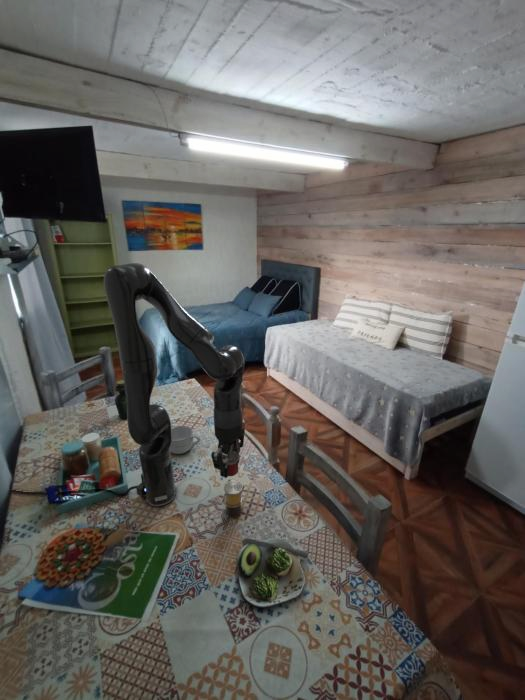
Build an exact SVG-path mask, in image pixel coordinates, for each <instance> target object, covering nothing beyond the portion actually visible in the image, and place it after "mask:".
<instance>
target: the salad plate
mask: <svg viewBox="0 0 525 700" xmlns="http://www.w3.org/2000/svg"><path fill="white" fill-rule="evenodd" d="M241 543H242V548H241V549H240V550H239V552H238V554H237V556H236V562H235V563H236V573H237V579H238V583H239V591H240V594H241V598H242V599H243V600H244V601H245V602H246V603H247V604H248V605H250V606H252V607H254V608H257V609H271V608H272V607H274V606H277V605H280V604H283V603H286V602H288V601H291V600H293V599H295V598H298V597H299V596H300V594H302V592H303V591H304V588H305V586H306V582H307V581H306V576H305V574H304V570H303V568H302V565H301V560H302V559H303V560H304V559H307V558H308V557H309V552H308V551H306V550H300V549H295V548H294V546H293V545H292V544H291V543H290V542H289V541H288V540H286V539H284V538H282V537H272V538H269V539H264V540H256V539H252V538H244V539H243V540H241Z"/></svg>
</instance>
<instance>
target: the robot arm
mask: <svg viewBox="0 0 525 700" xmlns="http://www.w3.org/2000/svg"><path fill="white" fill-rule="evenodd" d="M103 289H104V293H105V298H106V301H107V304H108V309H109V312H110V315H111V320H112V322H113V327H114V332H115V337H116V341H117V348H118V354H119V362H120V368H121V372H122V377H123V380H124V384H125V392H126V400H127V419H126V420H127V429H128V432H129V435H130V437H131V439H132V440H133V442H135V443H136V444H137V445H140V446H139V449H138V455H139V461H140V467H141V472H142V473H140V479H141V483H139V484H138V485H133V486H131V487H128V488H127V490H126V491H118V490H116V491H115V492H112V493H113V494H116V495H119V496H122V495H127V494H129V493H130V492H131V490H136V495H137V496H140V497H142V498H143V497H144V498H145V499H146V502H147V504H148V505H150V506H151V507H156V508H157V507H164V506H165V505H168V504H169V503H171V502H172V501H173V500H174V499H175V498H176V494H177V490H176V484H175V476H174V467H173V460H172V454H171V453H172V452H170V446H171V443H172V436H171V428H172V423H171V417H170V415H169V413H168V411H167V410H166V408H164V406H162V405H160V404H156V403H152V404H151V397H152V394H153V390H154V387H155V383H156V380H157V375H158V360H157V353H156V347H155V345H154V343H153V341H152V340H151V338H150V336H148V334H147V333H146V332H145V331H144V329H143V328H142V326H141V325H140V322H139V318H138V312H137V307H136V304H137V303H136V302H137V301H141V300H144V301H146V302H147V303H148V304H150V305H152V306H153V307H154V308H155V309H156V310H158V313H159V314H160V315H161V317H162V319H163V321H164V324H165V326H166V328H167V329H168V331H169V333H170V334H171V335H172V337H173V338H174V339H175V340H176V341H178V342H179V343H180V344H181V345H182V346H183V347H184V348H185V349H187V350H188V351H189V352H191V353H192V355H193V356H194V358H195V359H196V361H197V363H198V364H199V365H200V366H201V368H202V369H203V371H204V372H205V373H206V375H208V376H209V377H210V378H211V379H213V380H214V381H217V382H216V383H215V386H214V387H213V395H212V396H213V429H214V436H215V438H216V439H217V441H218V445H217V450H216V451H212V452H211V453H210V454H211V455H210V457H211V459H212V465H213V468H214V469H217V470H219V476H220V477H222V478H224V479H227V478H228V477H229V476H228V462H229V460H230V459H231V454H232V450H234V451H237V452H238V453H239V454H240V453H241V448H243V447H244V441H245V432H246V431H245V430H246V429H245V428H244V427H243V409H242V393H241V388H242V382H243V378H244V372H245V357H244V354H243V353H242V350H241V349H240V348H239V347H238V346H236V345H232V344H228V345H225V346H223V347H221V348H220V349H219V350H218V349H217V347H216V346H215V345H214V344H213V343H214V341H215V336H214V333H212V331H211V330H209V329H208V328H207V326H205V325H204V324H202V323H201V322H200V321H199V320H198V319H196V318H195V317H194V316H193V315H192V314H191V313H190V312H189V311H188V310H186V309H185V307H183V306H182V304H181V303H180V302H179V301H178V300H177V299H176V298H175V297H174V296H173V295H172V293H170V291H169V290H168V288H166V287H165V285H164V284H163V283H162V282H161V281H160V280H159V278H158V277H157V276H156V275H155V274H154V273H153V272H152V270H150V269H149V268H148V267H147V266H146V265H145V264H142V263H140V262H139V263H138V262H133V263H131V262H130V263H124V264H117V265H112V266H110V267H108V268H107V269H106V271H105V272H104V275H103ZM222 453H224V454H228V456H226V455H223V454H222ZM223 459H224V460H225V463H224V462H223ZM239 463H240V460H239V461H238V464H239ZM12 489H14V490H12ZM12 489H10V492H11V493H18V494H27V495H46V494H45V492H43V490H42V491H40V490H39V491H35V490H34V492H23V491H24V490H22V489H21V490H22V491H16V490H17V489H15V488H12Z"/></svg>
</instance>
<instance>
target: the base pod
mask: <svg viewBox="0 0 525 700" xmlns="http://www.w3.org/2000/svg"><path fill="white" fill-rule="evenodd" d="M223 502H224V505H225V510H226V512H225V513H226V515H227V516H228V517H230V518H237V517H238V516H240V515H241V513H242V503H243V497H242V495H241V501H240V503H239V504H237V505H229V504H228V503H227V501H226V495H225V496H224V499H223Z"/></svg>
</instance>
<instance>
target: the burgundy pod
mask: <svg viewBox="0 0 525 700" xmlns="http://www.w3.org/2000/svg"><path fill="white" fill-rule="evenodd" d="M222 454H223V455H226V456H228V454H224V453H222ZM240 458H241V456H240V453H238V452H237V451H234V450H232V454H231V459H230V460H229V462H228V477H234V476H236V475H237V474H238V473H239V463H238V461H239V462H240ZM223 462H224V463H225V460H224V459H223Z"/></svg>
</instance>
